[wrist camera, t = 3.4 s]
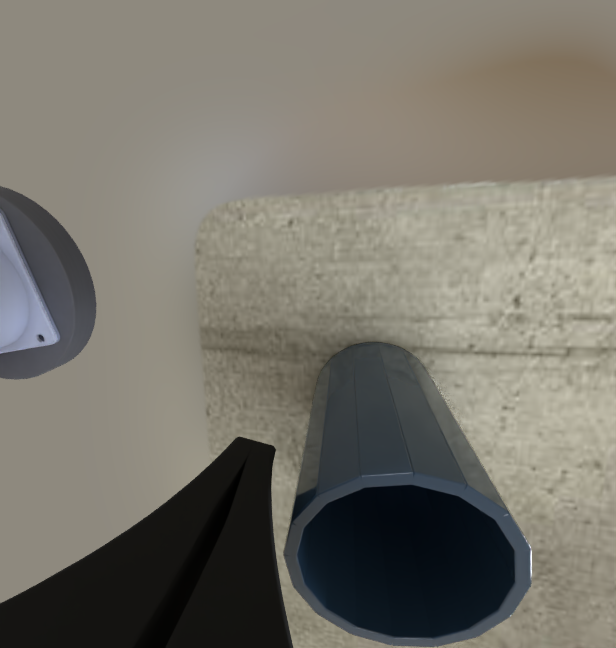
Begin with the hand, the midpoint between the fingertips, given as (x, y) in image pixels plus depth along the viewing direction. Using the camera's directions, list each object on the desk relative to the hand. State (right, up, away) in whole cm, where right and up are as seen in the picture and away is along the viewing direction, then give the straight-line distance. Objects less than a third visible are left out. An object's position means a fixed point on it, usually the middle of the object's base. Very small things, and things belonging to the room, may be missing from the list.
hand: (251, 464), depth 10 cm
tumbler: (+6, +1, +6) cm, 8 cm away
